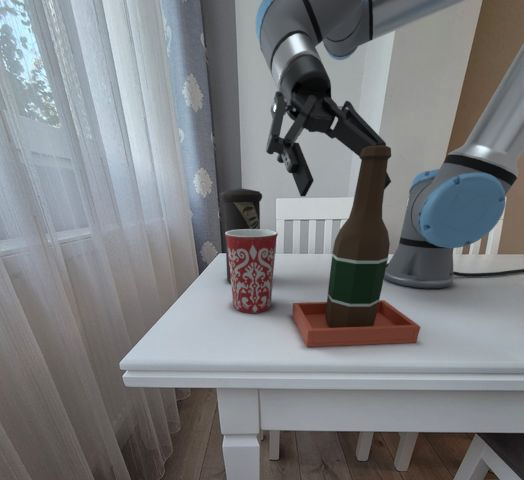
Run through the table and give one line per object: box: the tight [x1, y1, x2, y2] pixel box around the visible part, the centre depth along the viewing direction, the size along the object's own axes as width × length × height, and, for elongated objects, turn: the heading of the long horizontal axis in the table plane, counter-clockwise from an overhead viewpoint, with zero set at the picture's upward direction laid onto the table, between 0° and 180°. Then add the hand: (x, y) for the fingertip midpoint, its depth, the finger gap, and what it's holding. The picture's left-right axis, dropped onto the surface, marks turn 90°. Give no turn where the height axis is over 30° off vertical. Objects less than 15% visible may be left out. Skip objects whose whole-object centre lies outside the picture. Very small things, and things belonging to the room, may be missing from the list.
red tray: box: [291, 299, 421, 348], centre depth 47 cm, size 17×12×3 cm
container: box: [219, 188, 263, 284], centre depth 68 cm, size 9×9×20 cm
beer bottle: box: [326, 145, 392, 328], centre depth 42 cm, size 8×8×24 cm
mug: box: [224, 228, 279, 314], centre depth 55 cm, size 13×9×14 cm
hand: (347, 189), depth 42 cm, fingers open, 13 cm apart
